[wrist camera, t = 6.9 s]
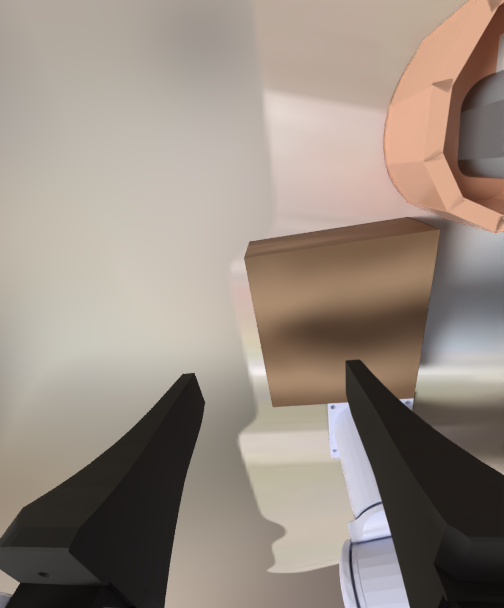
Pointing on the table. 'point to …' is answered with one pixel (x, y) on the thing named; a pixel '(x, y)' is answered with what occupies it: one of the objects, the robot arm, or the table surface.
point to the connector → (483, 125)
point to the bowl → (445, 119)
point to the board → (342, 307)
